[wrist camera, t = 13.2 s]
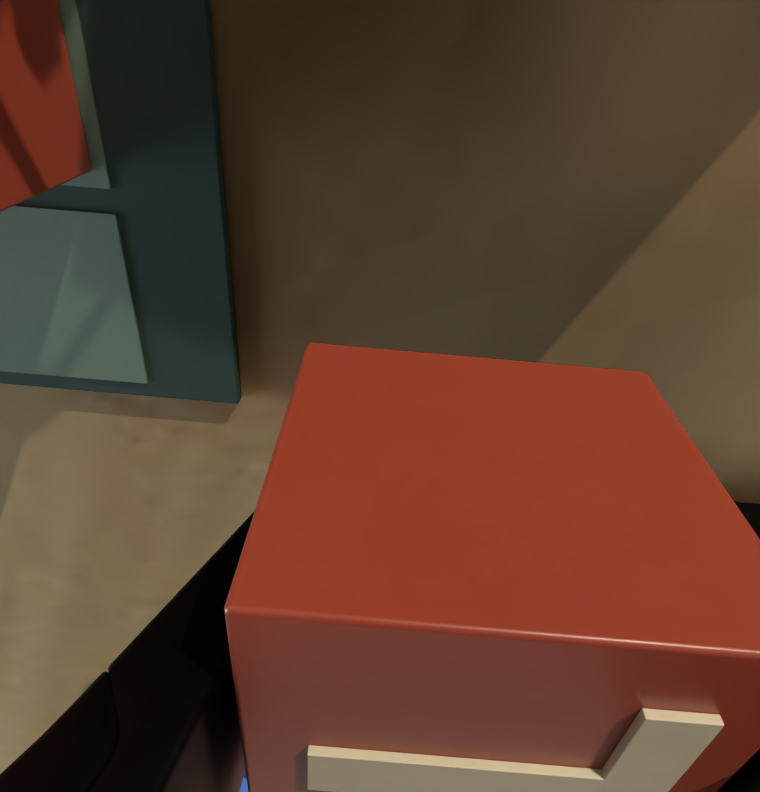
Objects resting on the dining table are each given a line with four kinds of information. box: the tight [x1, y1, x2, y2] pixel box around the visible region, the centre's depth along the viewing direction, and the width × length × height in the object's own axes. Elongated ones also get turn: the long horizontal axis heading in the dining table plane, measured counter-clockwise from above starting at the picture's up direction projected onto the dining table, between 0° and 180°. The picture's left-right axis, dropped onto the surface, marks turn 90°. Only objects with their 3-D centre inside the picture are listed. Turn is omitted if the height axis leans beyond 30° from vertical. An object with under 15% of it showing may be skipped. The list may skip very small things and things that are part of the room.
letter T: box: [224, 343, 760, 792], centre depth 8 cm, size 5×5×5 cm
